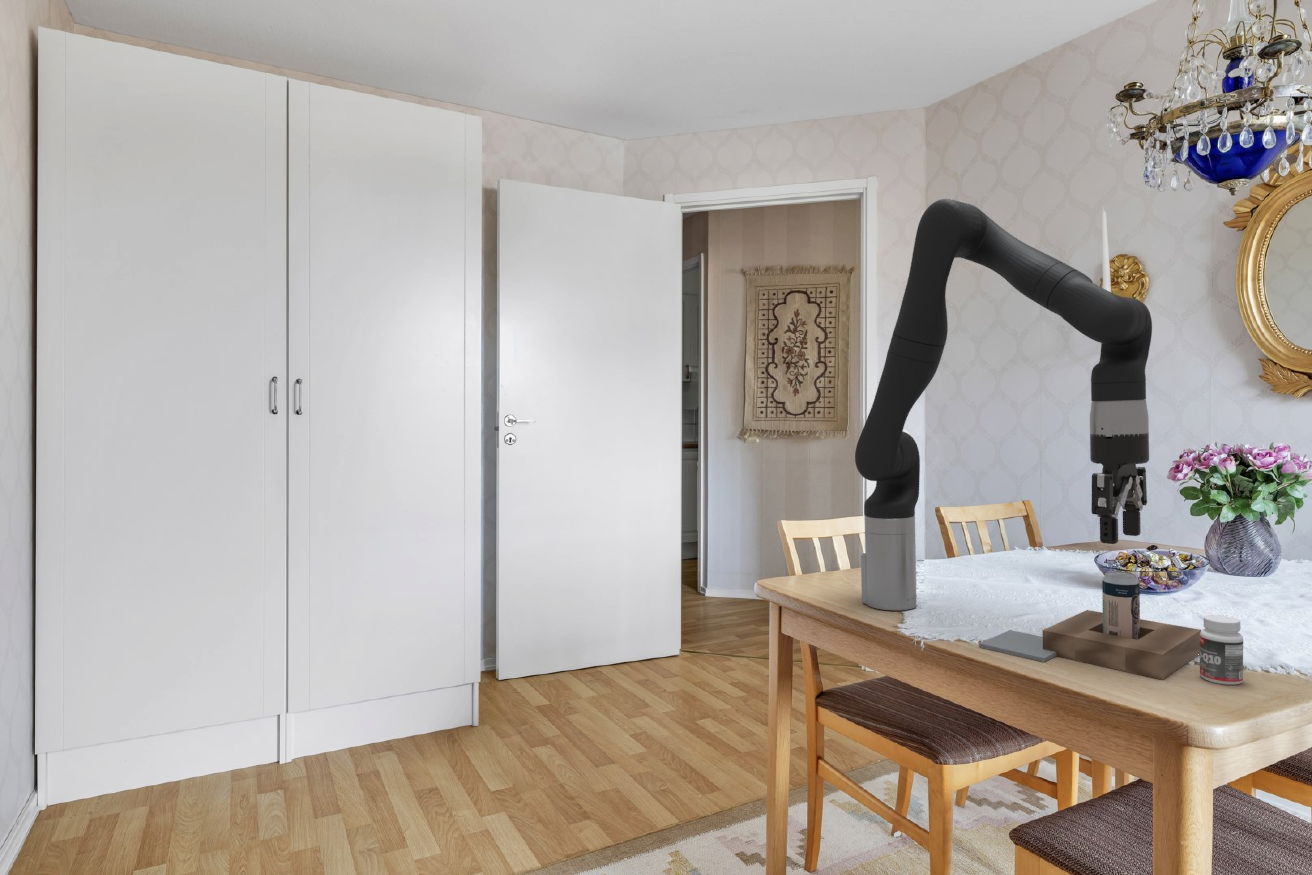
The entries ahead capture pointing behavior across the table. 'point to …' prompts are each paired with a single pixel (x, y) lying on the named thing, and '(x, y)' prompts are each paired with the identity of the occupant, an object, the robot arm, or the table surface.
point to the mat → (1019, 645)
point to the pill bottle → (1221, 650)
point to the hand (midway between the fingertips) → (1120, 539)
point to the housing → (1124, 645)
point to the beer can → (1121, 604)
